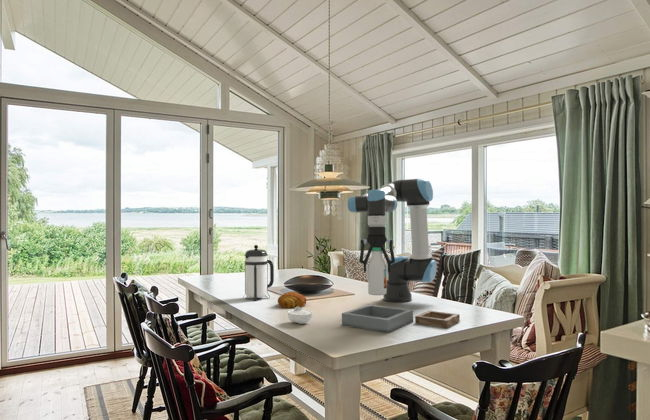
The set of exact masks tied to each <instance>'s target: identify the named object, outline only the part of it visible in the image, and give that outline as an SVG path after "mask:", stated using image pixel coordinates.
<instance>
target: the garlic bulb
mask: <svg viewBox="0 0 650 420" xmlns="http://www.w3.org/2000/svg"><path fill="white" fill-rule="evenodd" d="M286 312H287V315H288V320H289V321H291V322H292V323H295V324H299V325H301V324H302V325H303V324H307V323H309V322H310V321H311V319H312V317H313V311H312V310H309V309H305V308H302V307H296V308H293V309H290V310H288V311H286Z"/></svg>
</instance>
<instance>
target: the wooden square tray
mask: <svg viewBox="0 0 650 420" xmlns="http://www.w3.org/2000/svg"><path fill="white" fill-rule="evenodd" d="M414 319H415V322H414V323H415V324H417V325H423V326H430V327H436V328H445V329H449V328H450V327H452V326H453V325H456V324H457V323H459V322H460V320H461V319H460V314H459V313H451V312H444V311H436V310H427V311H424V312H423V313H420V314H418V315H415V317H414Z"/></svg>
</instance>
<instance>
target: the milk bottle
mask: <svg viewBox="0 0 650 420" xmlns="http://www.w3.org/2000/svg"><path fill="white" fill-rule="evenodd" d="M368 264H369V265H368V280H367V289H368V290H367V292H368V295H371V296H383V295H385V294H386V285H387V281H386V262H385V260H384V257H383V252H382V250H381V247H373V248H372V251H371V258H370V260H369V261H368Z"/></svg>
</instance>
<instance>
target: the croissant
mask: <svg viewBox="0 0 650 420" xmlns="http://www.w3.org/2000/svg"><path fill="white" fill-rule="evenodd" d="M307 300H308V298H306V296H304V295H303V294H301V293H299V292H297V291H287V292H285V293H283V294H281V295H280V296H279V297H278V298H277V303H278V305H279V307H280V308H283V309H295V308H296V307H301V308H303V307H304V306H305V305H306V304H307Z"/></svg>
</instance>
